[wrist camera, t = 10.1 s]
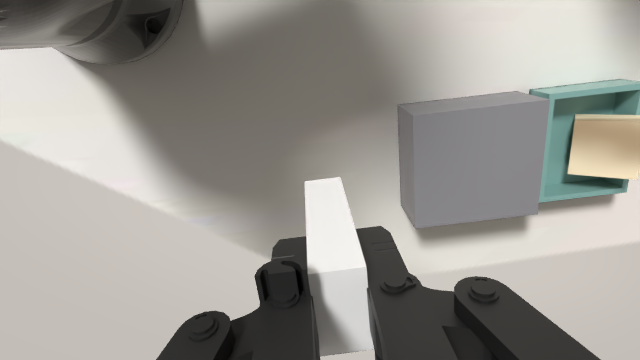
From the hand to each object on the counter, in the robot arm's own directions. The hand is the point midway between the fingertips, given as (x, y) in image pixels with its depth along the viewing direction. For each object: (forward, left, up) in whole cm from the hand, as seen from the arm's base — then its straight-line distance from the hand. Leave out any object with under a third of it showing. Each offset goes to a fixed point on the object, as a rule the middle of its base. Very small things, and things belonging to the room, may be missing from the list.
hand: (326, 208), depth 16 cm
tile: (+7, +30, -22) cm, 37 cm away
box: (+7, +29, -26) cm, 40 cm away
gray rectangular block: (+7, +16, -26) cm, 32 cm away
